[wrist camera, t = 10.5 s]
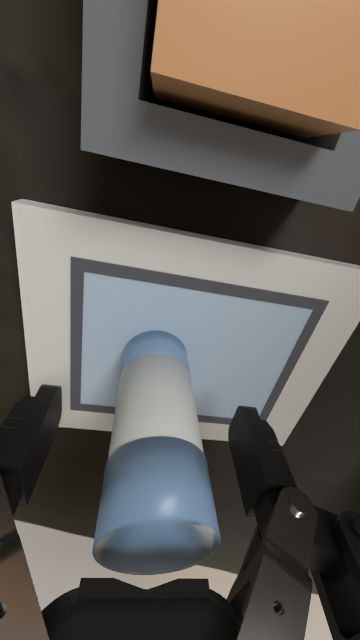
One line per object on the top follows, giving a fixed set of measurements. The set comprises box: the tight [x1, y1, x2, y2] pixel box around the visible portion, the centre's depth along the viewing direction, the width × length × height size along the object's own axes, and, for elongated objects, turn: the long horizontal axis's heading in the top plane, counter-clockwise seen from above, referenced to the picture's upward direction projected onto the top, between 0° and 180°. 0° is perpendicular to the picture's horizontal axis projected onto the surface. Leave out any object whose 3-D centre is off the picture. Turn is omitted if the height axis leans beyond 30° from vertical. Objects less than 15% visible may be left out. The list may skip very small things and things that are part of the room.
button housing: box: [81, 0, 360, 212], centre depth 8 cm, size 9×9×4 cm
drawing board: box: [11, 199, 360, 446], centre depth 16 cm, size 14×18×1 cm
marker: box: [93, 330, 221, 575], centre depth 12 cm, size 4×4×9 cm
